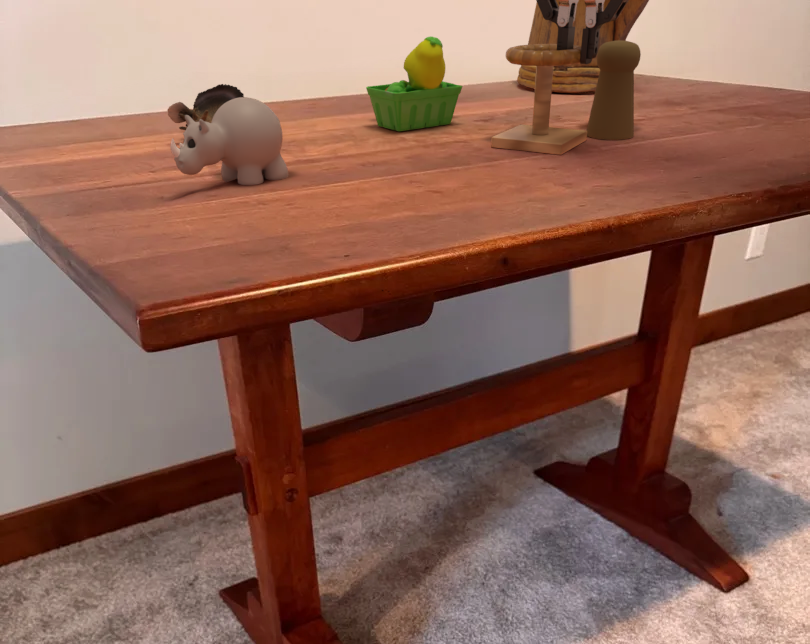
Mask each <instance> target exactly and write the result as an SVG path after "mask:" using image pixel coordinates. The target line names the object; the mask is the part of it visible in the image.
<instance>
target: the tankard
mask: <svg viewBox="0 0 810 644" xmlns="http://www.w3.org/2000/svg"><path fill="white" fill-rule="evenodd" d="M556 2H557V4H558V7H559V1H558V0H556ZM609 2H610V0H605V1H604V4H603V11H604V10H605V8H606V7H607V5H608V3H609ZM649 2H650V0H629V1H628V2H627V4H626V6H625V7H624V9H623V10H622V12H621V14H620V15H619V17H618V18H617V19H616V20H614V21H610V22H607V23H605V24H603V25H602V26H601V28H600V34H599V43H598V50H599V48H600V47H601V45H602V44H604V43H606V42H610V41H618V40H621V41H627V38H628V36H629V35H630V33H631V30H632V28H633V27H634V25H635V23H636V22H637V20H638V19H639V17H640V16H641V14H642V13H643V12H644V10H645V9H646V7H647V6H648V3H649ZM585 17H586V5H585V0H579V1H578V3H577V7H576V14H575V21H574V23H573V26H574V27H575V36H574V45H579V46H581V44H582V33H583V29H584V28H586V24H585ZM557 37H558V26H557V25H556V24H555V23H554V22H552V21H550V20H545V19H544V18H543V15H542V13H541V11H540V8H539V6H538V3H537V2H536V4H535V9H534V13H533V19H532V23H531V28H530V32H529V37H528V42H527V45H530V44H557ZM599 73H600V69H599V67H598V65H597V55H596V57H595V58H593V59H592V61H591V63H589V64H580V62H579V63H577V64H571V65H562V66H553V79H552V93H553V92H554V93H562V94H563V93H566V94H595V91H596V86H597V82H598V78H599ZM516 78H517V79H516V82H517V84H519V85H521V86H524V87H527V88H531V89H534V90H535V79H536V66H523V65H520V67H519V69H518V76H517V77H516Z"/></svg>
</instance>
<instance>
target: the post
mask: <svg viewBox="0 0 810 644" xmlns="http://www.w3.org/2000/svg"><path fill="white" fill-rule="evenodd" d="M552 79H553V66H536V79H535V89H534V95H533V96H534V97H533V108H532V110H533V113H532V124H518V125H516V126H514V127H512V128H510V129H507V130H505V131H503V132H502V131H501V132H500V133H498V134H496V135H493V136H491V139H490V147H491V148H495V149H503V150H504V149H505V150H513V151H522V152H533V153H540V154H551V155H559V156H561V155H563V154H565V153H567V152H569V151H570V150H572V149H574V148H575V147H578V146H579V145H581V144H583V143H585V142H586V141H587V140H588V136H587V131H586V130H587V129H585V130H584V129H575V128H564V127H563V128H562V127H554V126H550V119H551V103H552V93H553V91H552Z"/></svg>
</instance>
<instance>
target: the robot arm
mask: <svg viewBox="0 0 810 644" xmlns="http://www.w3.org/2000/svg"><path fill="white" fill-rule="evenodd" d="M535 1H536V3H538V6H539V8H540V11H541V13H542V15H543V18H544V19H545V20H550V21H552V22H554V23H555V24H556V25H557V26H558V37H557V50H568V49H573V47H574V36H575V27H574V26H573V23H574V21H575V14H576V7H577V3H578V1H579V0H558V1H559V7H558V4H557V2H556V0H535ZM604 1H605V0H585V5H586V17H585V24H586V28H584V29H583V33H582V44H581V55H580V64H589V63H591V61H592V59H593V58H595V57H596V55H597V53H598V43H599V34H600V28H601V26H602V25H603V24H605V23H607V22H610V21H614V20H616V19H617V18H618V17H619V15H620V14H621V12H622V10H623V9H624V7H625V6H626V4H627V2H628V1H629V0H610V2H609V3H608V5H607V7H606V8H605V10H604V11H603V4H604Z"/></svg>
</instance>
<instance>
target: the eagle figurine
mask: <svg viewBox="0 0 810 644" xmlns="http://www.w3.org/2000/svg"><path fill="white" fill-rule="evenodd" d="M240 97H245V94H244V93H243V92H242V91H241V89H239V88H238V87H237V86H233V85H230V84H226V83H225V84H224V83H221V84H217V85H216V86H213V87H211V88H207V89H206V90H204V91H201V92H198V93H197V95H196V97H195V99H194V102H193V107H192V109H191V108H190V107H188V106H187V105H186V104H184V103H183V102H182V101H178V102H174V103H172V104H171V105H169V106H168V108H167V110H166V111H167V116H168V117H169V118H170V120H171V121H172V122H173V123H175V124H182V123H185V126H183V125H182V126H179V127H178V129H179V130H181V131H184V132H185V131H186V129H187V127H188V125H187V122H186V119H185V115H188V116H190V117H191V118H192V119H193V120H194V121H195V122H199V120H200V119H202V120H203V121H205V122H209V123H211V122H212V119H213V117H214V115H215V113H216V112H217V110H218V109H219V108H220V107H221V106H222V105H223V104H224V103H226V102H228V101H230V100H232V99H235V98H240Z"/></svg>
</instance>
